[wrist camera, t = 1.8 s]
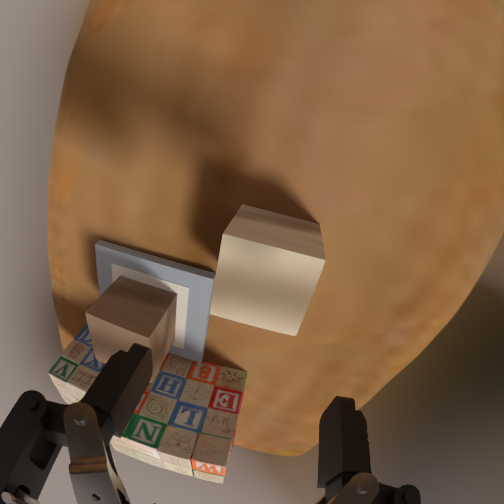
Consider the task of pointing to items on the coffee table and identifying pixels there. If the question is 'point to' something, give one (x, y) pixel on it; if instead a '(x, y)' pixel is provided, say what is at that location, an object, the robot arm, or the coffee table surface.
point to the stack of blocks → (167, 410)
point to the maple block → (267, 269)
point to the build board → (167, 278)
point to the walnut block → (132, 320)
